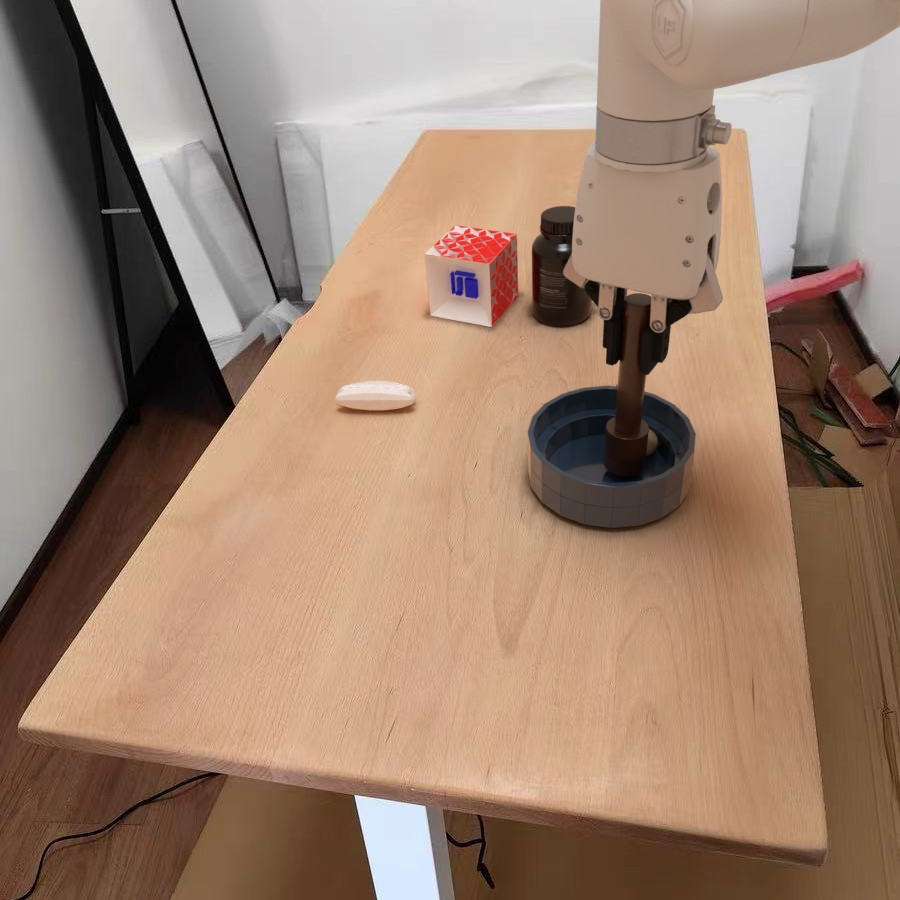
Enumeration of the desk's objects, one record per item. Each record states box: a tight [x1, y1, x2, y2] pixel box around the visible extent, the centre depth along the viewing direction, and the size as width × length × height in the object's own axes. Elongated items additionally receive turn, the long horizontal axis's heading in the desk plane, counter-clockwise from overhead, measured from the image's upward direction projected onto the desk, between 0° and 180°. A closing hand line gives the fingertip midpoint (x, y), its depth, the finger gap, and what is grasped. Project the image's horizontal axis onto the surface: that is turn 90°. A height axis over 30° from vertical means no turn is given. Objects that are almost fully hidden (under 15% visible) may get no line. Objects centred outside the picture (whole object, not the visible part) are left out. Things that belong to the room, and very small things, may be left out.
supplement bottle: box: [531, 205, 593, 327], centre depth 96 cm, size 7×7×12 cm
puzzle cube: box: [424, 224, 519, 328], centre depth 100 cm, size 8×8×8 cm
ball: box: [646, 429, 658, 456], centre depth 77 cm, size 3×3×3 cm
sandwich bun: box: [334, 380, 416, 412], centre depth 87 cm, size 3×8×3 cm, turn 84°
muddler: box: [603, 292, 651, 476], centre depth 71 cm, size 4×4×16 cm
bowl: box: [527, 385, 697, 529], centre depth 75 cm, size 14×14×5 cm
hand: (634, 359), depth 70 cm, fingers closed on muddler, 2 cm apart
